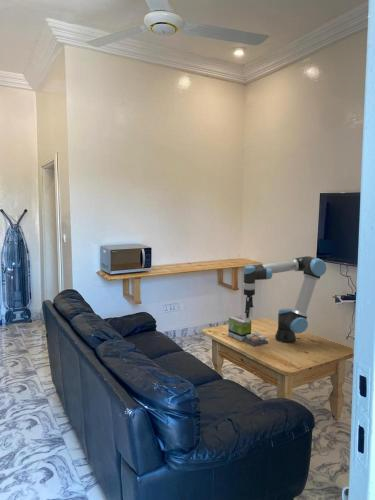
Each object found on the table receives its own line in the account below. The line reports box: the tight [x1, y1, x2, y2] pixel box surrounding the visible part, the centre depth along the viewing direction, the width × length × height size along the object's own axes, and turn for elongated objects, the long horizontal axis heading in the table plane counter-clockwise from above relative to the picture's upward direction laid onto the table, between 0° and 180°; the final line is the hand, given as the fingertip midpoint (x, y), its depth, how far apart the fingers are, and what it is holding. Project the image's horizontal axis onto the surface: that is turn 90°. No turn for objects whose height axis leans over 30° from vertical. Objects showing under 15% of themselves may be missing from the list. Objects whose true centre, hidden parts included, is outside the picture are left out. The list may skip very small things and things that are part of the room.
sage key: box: [246, 333, 255, 341], centre depth 281 cm, size 4×4×4 cm
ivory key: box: [257, 334, 267, 342], centre depth 280 cm, size 4×4×4 cm
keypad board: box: [242, 338, 269, 347], centre depth 281 cm, size 13×12×2 cm
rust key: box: [251, 336, 260, 343], centre depth 277 cm, size 4×4×4 cm
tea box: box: [227, 315, 252, 342], centre depth 290 cm, size 15×10×15 cm, turn 37°
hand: (249, 319), depth 264 cm, fingers open, 13 cm apart
